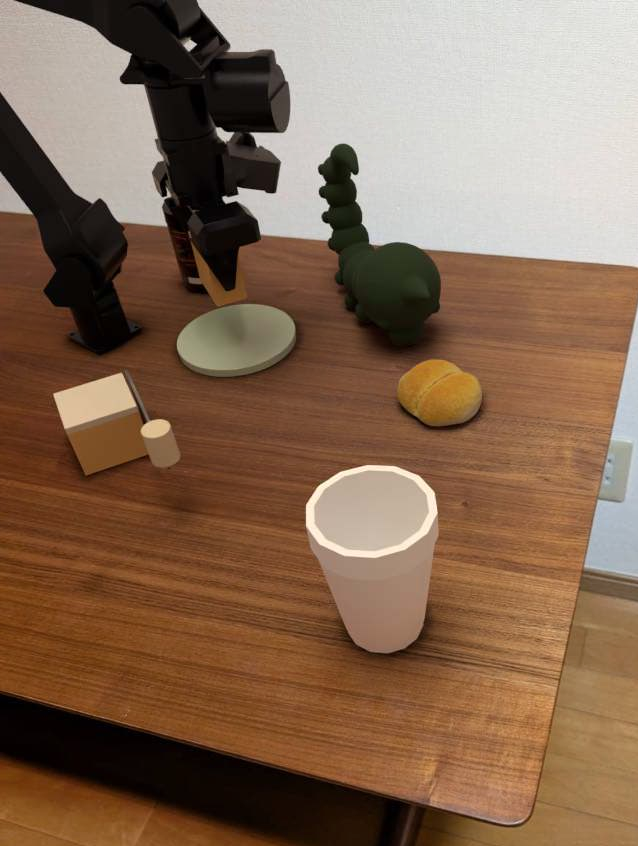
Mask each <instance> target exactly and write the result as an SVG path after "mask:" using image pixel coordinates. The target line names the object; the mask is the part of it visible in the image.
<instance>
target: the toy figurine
mask: <svg viewBox="0 0 638 846" xmlns="http://www.w3.org/2000/svg"><path fill="white" fill-rule="evenodd" d="M317 173H318V174H319V175H320V176H322V178H323V180H324V181H325V184H324V185H321V186H319V188H318V196H319V197H320V198H321V199H323V200H324V199H325V201H326V203H327V204H328V209H327V210H325V211H323V212H322V213H321V221H322V222H323V223H324V224H327V225H329V226H330V228H331V229H332V232H331V236H330V237H329V238H328V239H327V246H328V249H329V250H331V251H332V252H335V253H336V255H338V258H337V260H338V263H337V264H338V266H337V267H338V270H337V271H336V272H335V274H334V281H335V283H336V284H337V285H339V286H341V287H344V288H345V290H346V291H347V292H346V293H345V294H344V304H345V306H346V307H347V308H349V309H353V310H354V309H355V316H356V318H357V319H358V321H359V322H362V323H365V324H366V323H369V322H372V323H374V324H375V325H377V326H378V327H379V328H380V329H384V330H388V337H389V339H390V341H391V343H392V344H394V345H395V346H398V347H406V346H410V345H413V344H416V343H417V342H419V341H420V340H422V338H423V337H424V336H425V333H426V326H425V323H424V322H426V321H427V320H428V319H429V318H430V317H431V316H432V315H433V314H437V313H438V312H439V311H440V309H441V303H440V299H441V294H442V293H441V291H442V279H441V275H440V274H441V273H440V270H439V269H438V267H437V265H436V263H435V261H434V260H433V258H432V257H431V256H430V254H428V253H427V252H426V251H424V249H422V248H420V247H418V246H417V245H414V244H411V243H409V242H401V241H395V242H388V243H385V244H383V245H380V246H378V247H376V248H375V247H374V245H372V244H371V243H370V236H369V232H368V230H367V228H366V226H365V225H364V224H363V211H362V208H361V206H360V205H359V203H358V202H357V201H356V200H357V197H358V190H357V186H356V183H355V182H354V180H353V179H352V178H351V177H352V175H353V176H358V175H359V173H360V165H359V159H358V155H357V152H356V150H355V149H354V148H353V147H352V146H351V145H349V144H348V143H338V144H336V145H334V147H332V149H331V151H330V154H329V156H328V157H327V158H326V159H325V160H324V161H323V163H321V164H319V165H318V166H317Z"/></svg>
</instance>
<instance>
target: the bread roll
mask: <svg viewBox="0 0 638 846" xmlns="http://www.w3.org/2000/svg"><path fill="white" fill-rule="evenodd" d="M397 385H398V386H397V388H396V389H397V390H396V396H397V400H398V402H399V403H400V404H401V407H403V408H404V409H405V410H406V411H407V412H408V413H410V414H411V415H413V416H415V417H417V419H418V420H419V421H421V422H422V423H423V424H425V425H427V426H431V427H446V426H452V425H458V424H463V423H465V422H467V421H470V420H471V419H472V418H473V417H474V416H475V415H476V413H477V412H478V411H479V409H480V408H481V405H482V401H483V389H482V388H483V387H482V386H481V384H480V382H479V380H478V378H477V377H476V376H474V375H473V374H471V373H469V372H465V371H463V370H462V369H461V368H460V367H458V366H457V365H455V364H454V363H452V362H449V361H447V360H444V359H432V358H431V359H428V360H425V361H422V362H420V363H418V364H416V365H415V366H413V367H411V369H409V371H407V372H406V373H404V374H403V375H402V377H401V378H400V379H399V381H398V384H397Z"/></svg>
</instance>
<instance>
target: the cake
mask: <svg viewBox="0 0 638 846" xmlns="http://www.w3.org/2000/svg"><path fill="white" fill-rule="evenodd" d="M129 387H130V386H129V385H128V383H127V381H126V379H125V377H124V374H123V373H122V372H119V373H116V374H112V375H110V376H106V377H103V378H99V379H96V380H93V381H89V382H87V383H86V382H85V383H84V384H81V385H76V386H74V387H70V388H68V389H64V390H61V391H57V392H54V393H53V394H52V396H53V398H54V401H55V404H56V407H57V410H58V413H59V416H60V419H61V423H62V425H63V428H64V431H65V433H66V435H67V437H68V440H69V442H70V444H71V446H72V448H73V451H74V453H75V455H76V458H77V460H78V462H79V464H80V466H81V468H82V470H83V473H84V475H85V476H88V475H92V474H95V473H98V472H101V471H104V470H107V469H109V468H110V469H111V468H112V467H115V466H118V465H122V464H124V463H127V462H130V461H134V460H137V459H139V458H142V457H146V456H149V453H148V451H147V448H146V445H145V443H144V440H143V437H142V435H141V428H142V427H143V426H144V425H145V423H144V421H143V419H142V417H141V414H140V412H139V409H138V407H137V404H136V401H135V398H134V396H133V393H132V391H131V389H130V388H129Z"/></svg>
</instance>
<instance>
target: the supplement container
mask: <svg viewBox="0 0 638 846" xmlns="http://www.w3.org/2000/svg"><path fill="white" fill-rule="evenodd" d="M161 210H162V213H163V216H164V221H165V223H166V226H167V231H168V233H169V237H170V241H171V246H172V248H173V251H174V256H175V259H176V263H177V266H178V271H179V273H180V277H181V280H182V283H183V285H184V286H185V288H187V289H189V290H190V291H193V292H196V293H208V291H207V290H206V288H205V287H204V285H203V284H202V282H201V280H200V276H199V272H198V268H197V264H196V260H195V257H194V253H193V249H192V245H191V241H190V239H189V237H188V236H187V235H186V233H185V232H184V230H183V229H182V227H181V226H180V225H179V223H178V222H177V220H176V219H175V217H174V216H173V215H172V213H171V212H170V210H169V209H168V207H167V206H166V204H165V203H164V202H163V203H162V205H161Z"/></svg>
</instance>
